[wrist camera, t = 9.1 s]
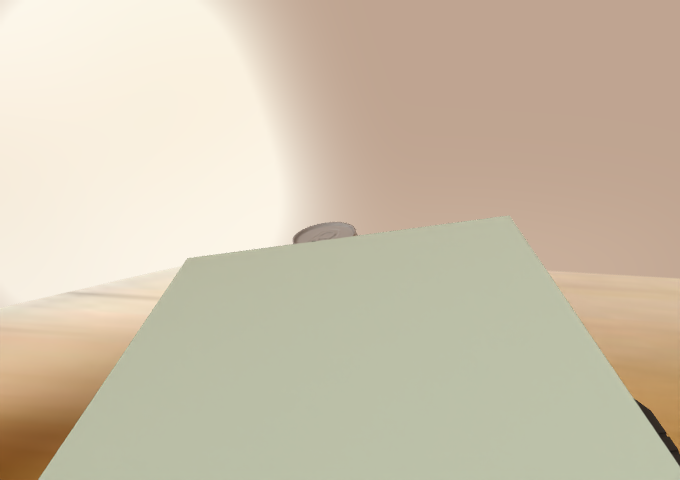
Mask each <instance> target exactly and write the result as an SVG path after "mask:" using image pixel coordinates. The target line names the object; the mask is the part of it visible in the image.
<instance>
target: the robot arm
mask: <svg viewBox="0 0 680 480" xmlns="http://www.w3.org/2000/svg"><path fill="white" fill-rule="evenodd" d="M634 400H635V399H634ZM635 401H636V403H637V404H638V406H639V407H640V409H641V410H642V412H643V413H644V415H645V416H646V418H647V419H648V421H649V422H650V424H651V425H652V426H653V428H654V429H655V431H656V432H657V434H658V435H659V437H660V438H661V440H662V441H663V443H664V444H665V446H666V447H667V449H668V450H669V452H670V453H671V454H672V456H673V457H674V459H675V460H676V462H677V463H678V465H679V466H680V454H679V451H678V449H677V447H676V446H675V444H674V443H673V442H672V440H671V439H670V437H667V435H666V432H665V430H664V429H663V427H662V426H661V424H660V423H659V422H658V420H657V419H656V417H655V416H654V414H653V413H652V412H651V411H650V410H649V409H648V408H646V407H645V406H644V405H642V404H641V403H639V402H638V401H637V400H635Z"/></svg>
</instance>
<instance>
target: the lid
mask: <svg viewBox="0 0 680 480" xmlns="http://www.w3.org/2000/svg"><path fill="white" fill-rule="evenodd" d="M38 480H680V466H679V465H678V463H677V462H676V460H675V459H674V457H673V456H672V454H671V453H670V452H669V450H668V449H667V447H666V446H665V444H664V443H663V441H662V440H661V438H660V437H659V435H658V434H657V432H656V431H655V429H654V428H653V426H652V425H651V424H650V422H649V421H648V419H647V418H646V416H645V415H644V413H643V412H642V410H641V409H640V407H639V406H638V404H637V403H636V401H635V400H634V398H633V397H632V396H631V394H630V393H629V391H628V390H627V388H626V387H625V385H624V384H623V382H622V381H621V379H620V378H619V376H618V375H617V373H616V372H615V370H614V369H613V368H612V366H611V365H610V363H609V362H608V360H607V359H606V357H605V356H604V354H603V353H602V351H601V350H600V348H599V347H598V345H597V344H596V342H595V341H594V340H593V338H592V337H591V335H590V334H589V332H588V331H587V329H586V328H585V326H584V325H583V323H582V322H581V320H580V319H579V317H578V316H577V314H576V313H575V312H574V310H573V309H572V307H571V306H570V304H569V303H568V301H567V300H566V298H565V297H564V295H563V294H562V292H561V291H560V289H559V288H558V286H557V285H556V284H555V282H554V281H553V279H552V278H551V276H550V275H549V273H548V272H547V270H546V269H545V267H544V266H543V264H542V263H541V261H540V260H539V259H538V257H537V256H536V254H535V253H534V251H533V250H532V248H531V247H530V245H529V244H528V242H527V241H526V239H525V238H524V236H523V235H522V234H521V232H520V231H519V229H518V228H517V226H516V225H515V223H514V222H513V220H512V219H511V217H510V216H502V217H494V218H487V219H479V220H472V221H464V222H457V223H449V224H442V225H435V226H427V227H420V228H412V229H404V230H397V231H389V232H382V233H374V234H366V235H359V236H351V237H344V238H336V239H329V240H321V241H314V242H306V243H299V244H292V245H284V246H276V247H269V248H261V249H254V250H246V251H239V252H231V253H225V254H216V255H209V256H202V257H194V258H188V259H187V260H186V261H185V263H184V264H183V266H182V267H181V269H180V270H179V272H178V273H177V275H176V276H175V278H174V279H173V281H172V282H171V284H170V285H169V286H168V288H167V289H166V291H165V292H164V294H163V295H162V297H161V298H160V300H159V301H158V303H157V304H156V306H155V307H154V309H153V310H152V312H151V313H150V315H149V316H148V318H147V319H146V321H145V322H144V324H143V325H142V326H141V328H140V329H139V331H138V332H137V334H136V335H135V337H134V338H133V340H132V341H131V343H130V344H129V346H128V347H127V349H126V350H125V352H124V353H123V355H122V356H121V358H120V359H119V361H118V362H117V364H116V365H115V367H114V368H113V369H112V371H111V372H110V374H109V375H108V377H107V378H106V380H105V381H104V383H103V384H102V386H101V387H100V389H99V390H98V392H97V393H96V395H95V396H94V398H93V399H92V401H91V402H90V404H89V405H88V407H87V408H86V410H85V411H84V412H83V414H82V415H81V417H80V418H79V420H78V421H77V423H76V424H75V426H74V427H73V429H72V430H71V432H70V433H69V435H68V436H67V438H66V439H65V441H64V442H63V444H62V445H61V447H60V448H59V450H58V451H57V453H56V454H55V455H54V457H53V458H52V460H51V461H50V463H49V464H48V466H47V467H46V469H45V470H44V472H43V473H42V475H41V476H40V478H39V479H38Z"/></svg>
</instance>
